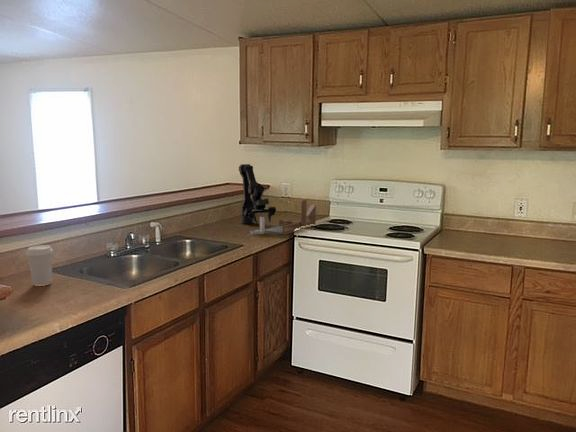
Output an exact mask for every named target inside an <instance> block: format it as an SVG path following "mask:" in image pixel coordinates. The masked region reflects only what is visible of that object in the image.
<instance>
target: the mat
mask: <svg viewBox="0 0 576 432" xmlns="http://www.w3.org/2000/svg"><path fill="white" fill-rule="evenodd" d="M265 233H271V234H273V233H274V234H279V235H287V234H291V233H295V232H294V231H290V232H287V233H283V226H279V225H278V226H273V227H270V228H267V229H266V228H265Z"/></svg>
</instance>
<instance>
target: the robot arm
mask: <svg viewBox="0 0 576 432" xmlns="http://www.w3.org/2000/svg"><path fill="white" fill-rule="evenodd" d="M238 172H239V175H240V176H241V178H242V188H243V201H242V202H241V207H240V209H239V212H240V215H241V216H242V217H241V219H242V222H240V224H243V225H252V224H256V225H257V224H258V220H257V217H256V214H267V216H266V217H267V220H268V223H269V224H271V217H272V216H275V214H276V211H277V207H276V206H269V207H268V208H266V206H267V205H268V204H269V203H270V200H269V198H264V199H263V198H262V197H263V195H264V192H265V187H264V185H262V184H261V183H259V182H257V180H256V176H255V172H254V166H253V165H251V164H250V163H247V164H246V163H243V164H240V165H239V166H238Z"/></svg>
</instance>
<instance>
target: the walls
mask: <svg viewBox="0 0 576 432" xmlns="http://www.w3.org/2000/svg"><path fill="white" fill-rule="evenodd" d="M278 226H283V233H287V232H290V231H294V230H295V229H296V228H299V227H301V221H295V220H287V219H278Z"/></svg>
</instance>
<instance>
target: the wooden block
mask: <svg viewBox="0 0 576 432" xmlns="http://www.w3.org/2000/svg"><path fill="white" fill-rule="evenodd" d="M307 200H308V199H301V200H300V202H301V203H300V222H301V226H306V225H310V224H315V225H316V221H317V220H316V218H317V217H316V216H317V213H316V210H317V209H316V208H317V207H316V206H317V205H316V204H311V205H310V207H309V208H307V207H308V201H307Z"/></svg>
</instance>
